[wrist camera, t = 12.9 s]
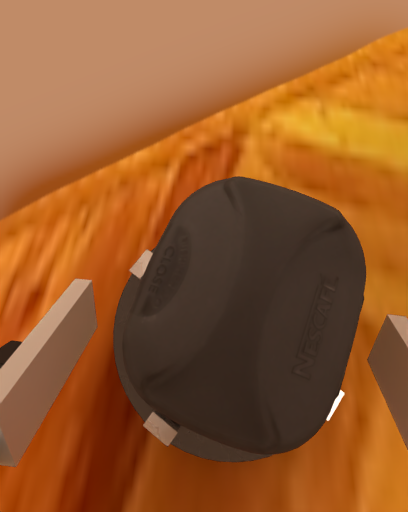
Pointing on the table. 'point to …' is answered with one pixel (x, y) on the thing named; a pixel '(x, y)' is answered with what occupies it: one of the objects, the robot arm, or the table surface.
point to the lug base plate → (153, 419)
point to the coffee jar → (247, 315)
